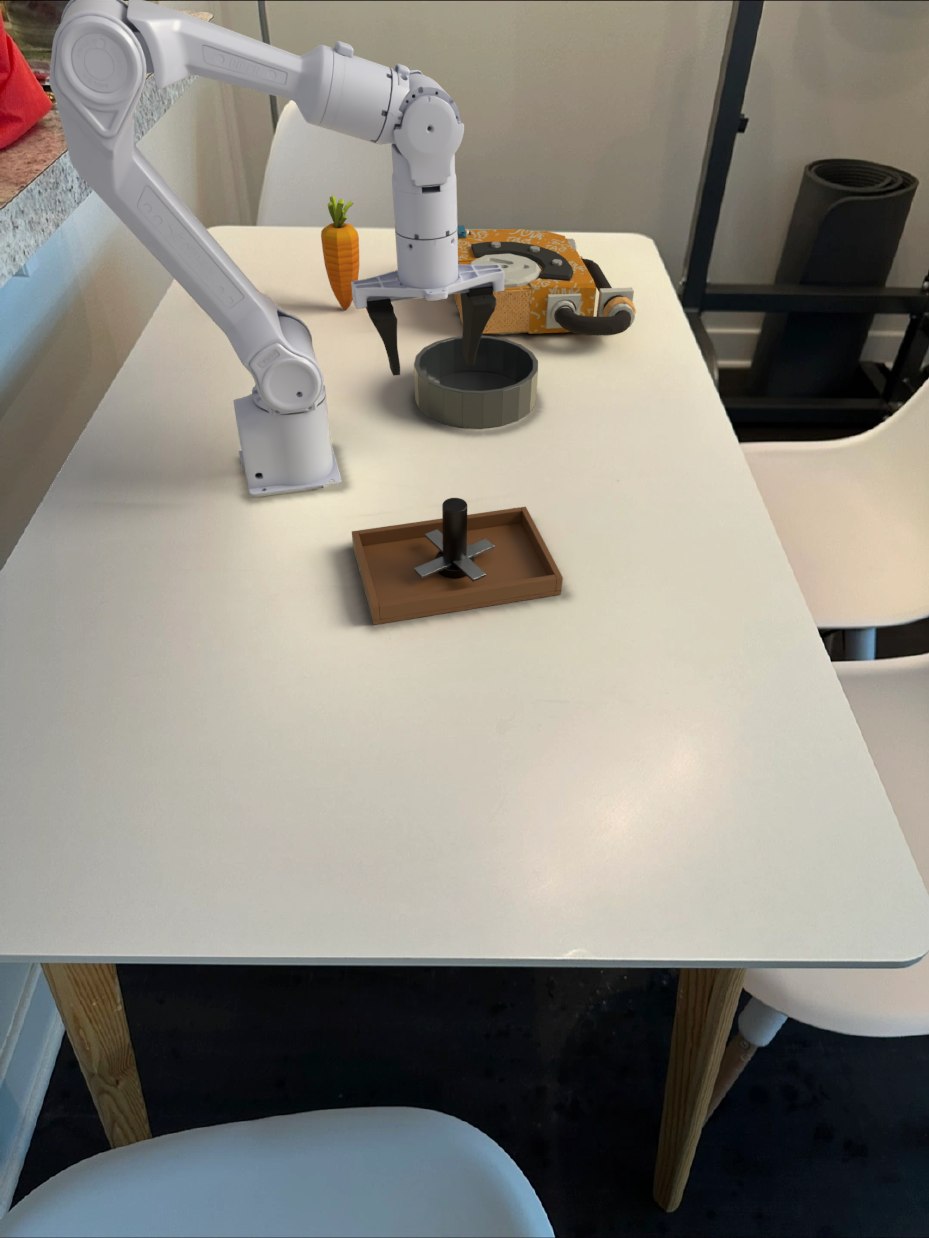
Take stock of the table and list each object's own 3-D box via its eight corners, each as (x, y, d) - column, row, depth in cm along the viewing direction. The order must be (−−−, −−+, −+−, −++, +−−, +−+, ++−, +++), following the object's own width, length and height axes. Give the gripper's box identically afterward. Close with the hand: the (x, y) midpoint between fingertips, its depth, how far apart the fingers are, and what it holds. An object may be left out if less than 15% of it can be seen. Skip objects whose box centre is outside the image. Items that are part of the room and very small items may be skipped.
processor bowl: (430, 440, 102) (429, 399, 98) (404, 380, 112) (403, 342, 109) (551, 424, 105) (554, 385, 101) (515, 368, 115) (517, 330, 111)
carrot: (330, 301, 129) (320, 189, 119) (365, 302, 129) (358, 190, 119) (325, 316, 125) (314, 202, 115) (361, 317, 125) (353, 203, 115)
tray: (373, 625, 79) (372, 607, 78) (353, 547, 87) (351, 531, 86) (561, 594, 83) (563, 577, 81) (524, 522, 91) (525, 506, 89)
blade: (421, 600, 81) (420, 537, 76) (403, 547, 87) (401, 485, 82) (508, 587, 82) (511, 524, 78) (484, 535, 88) (486, 474, 83)
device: (593, 212, 133) (649, 295, 111) (588, 268, 139) (640, 359, 117) (439, 216, 131) (465, 303, 109) (440, 274, 136) (464, 367, 114)
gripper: (354, 253, 79) (368, 394, 89) (514, 236, 82) (511, 374, 91) (342, 225, 84) (356, 361, 94) (493, 209, 87) (492, 343, 96)
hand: (432, 366), depth 93 cm, fingers open, 7 cm apart
